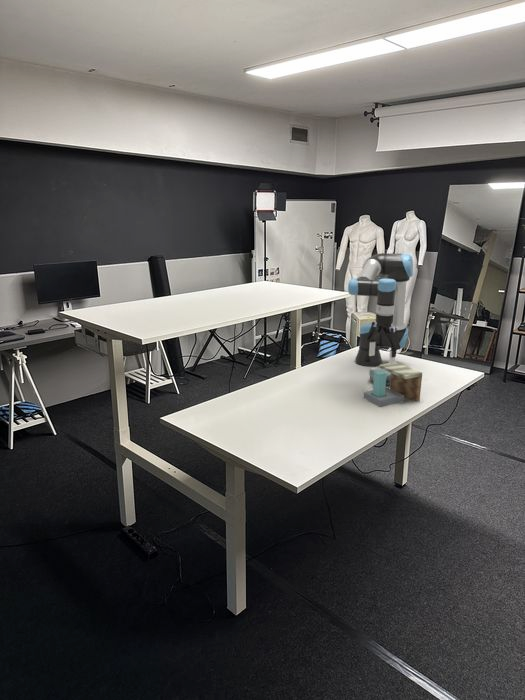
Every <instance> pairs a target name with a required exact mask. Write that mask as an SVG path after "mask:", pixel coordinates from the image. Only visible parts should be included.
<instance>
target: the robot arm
mask: <svg viewBox="0 0 525 700" xmlns="http://www.w3.org/2000/svg"><path fill="white" fill-rule="evenodd" d="M413 262H414V261H413V257H412V255H411V254H409V253H407V254H406V253H403V252H402V253H389V252H388V253H383V252H381V253H376V254H374V255H372V256H370V257H368V258H367V259H366V260H365V261H363V264H362V268H361V271H360V273H359V275H358V276H357V278H350V279H349V282H348V283H347V284H348V286H347V291H348V294H349V295H351V296H356V297H357V296H361V297H362V296H364V297H377V299H376V300H377V301H376V309H375V310H376V311H375V312H376V314H375V321H372V322H367V323H364V324H362V325H361V326H360V327H359V329H360V330H359V341H358V342H359V343H358V351H357V353H356V356H355V358H354V359H355V360H354V362H355V364H357V365H359V366H364V367H379V365H382V362H383V361H382V356H381V351H380V348H382V347H383V348H390V350H389V355H388V363H389V364H394V363H395V362H396V356H397V351H398V350H399V351H400V350H401V349H404V348H405V347H406V342H407V339H408V334H409V328H407V325H406V323H405V320H404V319H405V305H406V292H407V283H408V282H409V281H410V279H411V278H412V277H413V275H414V263H413ZM377 276H386V277H387V278H381V279H376V277H377Z"/></svg>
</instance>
